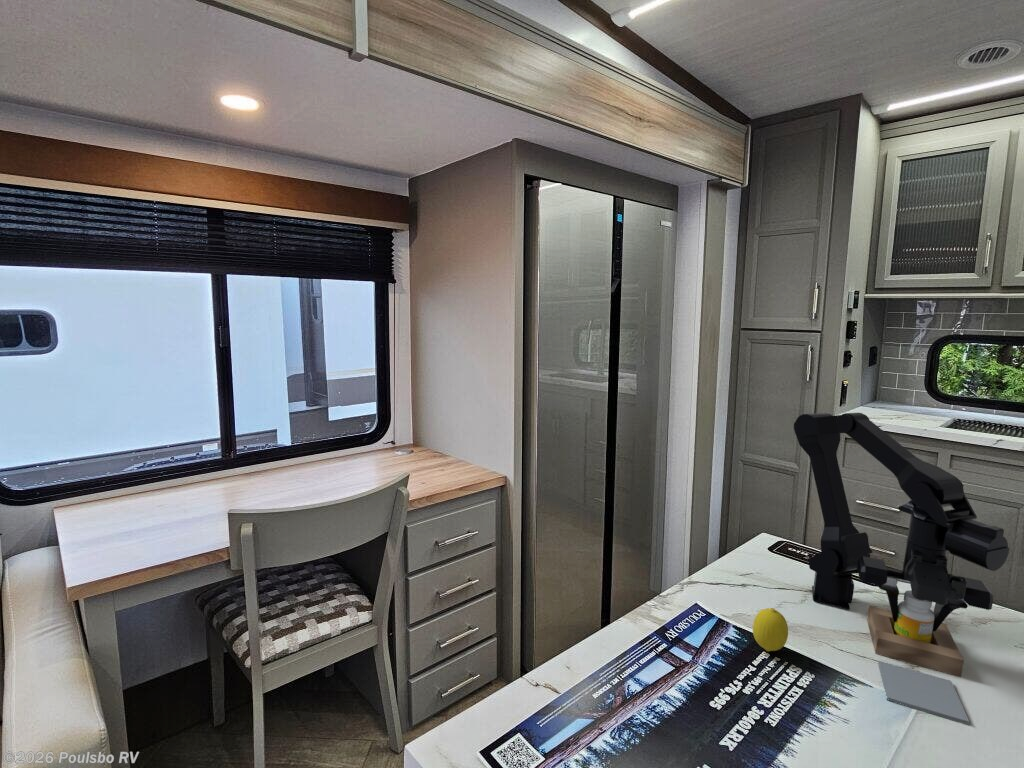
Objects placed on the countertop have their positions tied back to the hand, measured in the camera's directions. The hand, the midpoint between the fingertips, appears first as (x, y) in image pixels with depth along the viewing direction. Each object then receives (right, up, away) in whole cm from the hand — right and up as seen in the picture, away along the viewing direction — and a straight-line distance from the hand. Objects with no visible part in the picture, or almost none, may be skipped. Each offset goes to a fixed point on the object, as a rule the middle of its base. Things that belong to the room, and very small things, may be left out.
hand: (913, 625), depth 98 cm
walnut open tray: (0, -4, +1) cm, 4 cm away
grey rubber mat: (-7, -6, -11) cm, 15 cm away
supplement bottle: (0, -4, +1) cm, 4 cm away
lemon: (-27, -4, -3) cm, 28 cm away
